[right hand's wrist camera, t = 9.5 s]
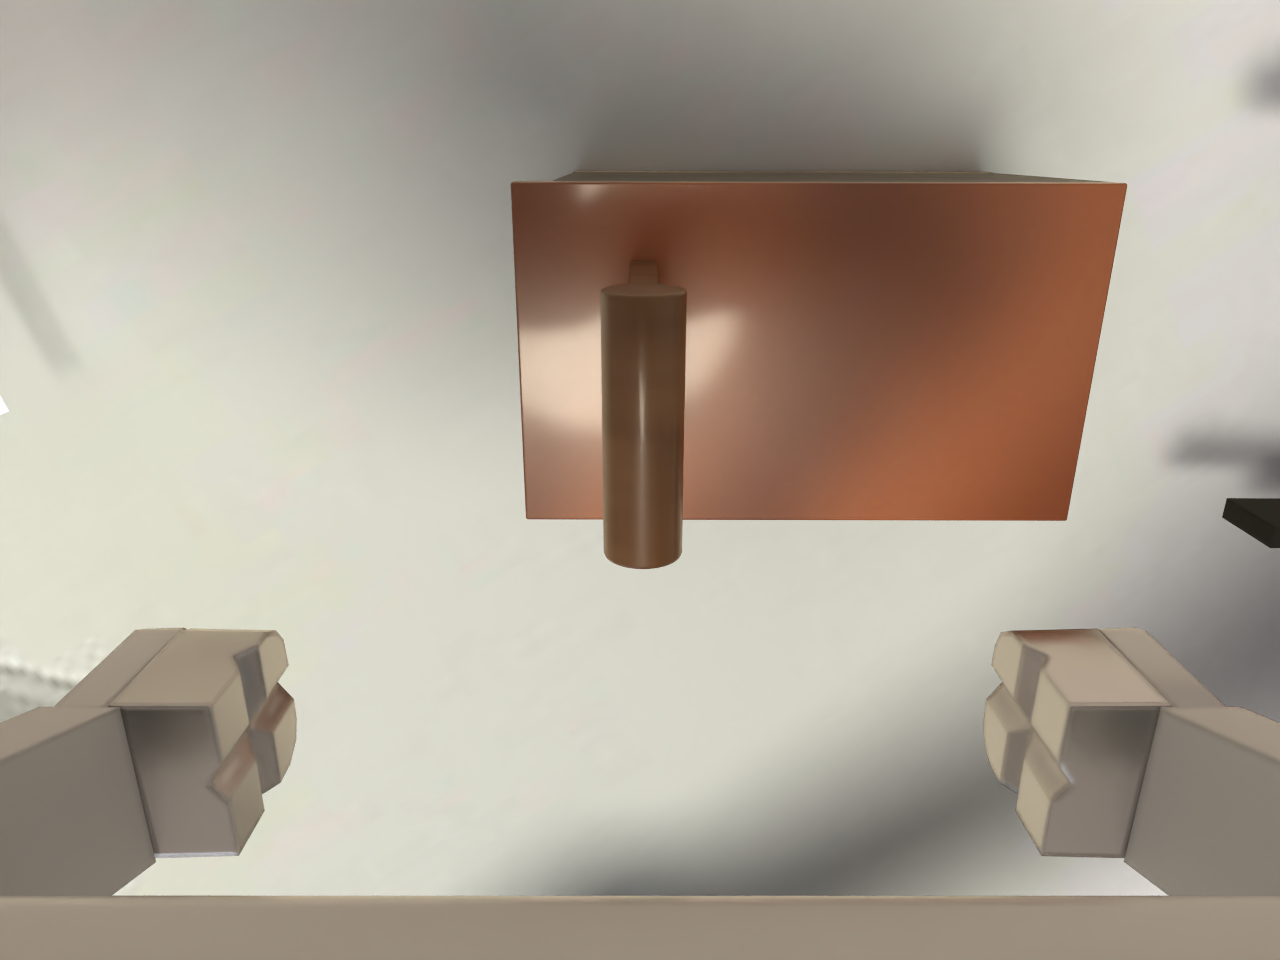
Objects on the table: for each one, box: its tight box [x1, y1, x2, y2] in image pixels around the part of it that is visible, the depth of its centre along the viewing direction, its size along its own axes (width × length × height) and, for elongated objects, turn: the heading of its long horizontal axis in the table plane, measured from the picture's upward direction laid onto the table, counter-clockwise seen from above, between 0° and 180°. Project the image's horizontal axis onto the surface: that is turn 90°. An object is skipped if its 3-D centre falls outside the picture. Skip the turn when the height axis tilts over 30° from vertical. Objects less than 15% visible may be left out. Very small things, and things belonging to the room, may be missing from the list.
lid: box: [511, 181, 1127, 569], centre depth 22 cm, size 16×10×8 cm, turn 90°
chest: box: [554, 171, 1102, 182], centre depth 31 cm, size 15×10×10 cm, turn 90°
